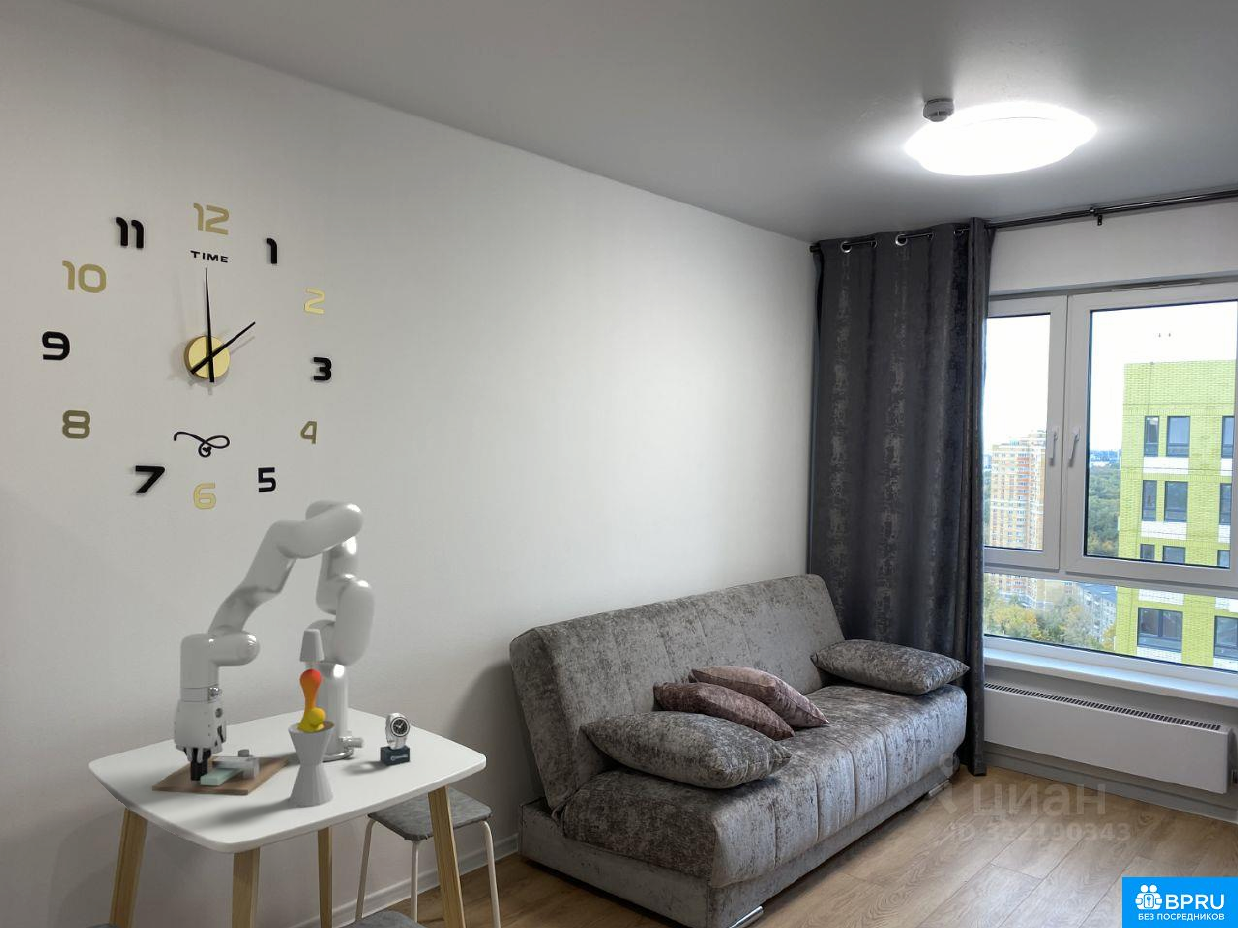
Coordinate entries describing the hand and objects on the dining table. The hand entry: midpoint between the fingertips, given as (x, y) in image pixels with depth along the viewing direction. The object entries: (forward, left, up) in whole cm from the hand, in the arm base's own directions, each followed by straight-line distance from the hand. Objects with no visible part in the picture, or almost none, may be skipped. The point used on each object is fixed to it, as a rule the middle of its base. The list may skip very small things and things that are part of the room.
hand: (198, 778), depth 196 cm
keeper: (-6, -5, -2) cm, 8 cm away
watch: (-36, -20, -2) cm, 42 cm away
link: (-4, -6, -1) cm, 7 cm away
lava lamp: (-26, +4, -2) cm, 27 cm away
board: (-2, -7, -2) cm, 7 cm away
